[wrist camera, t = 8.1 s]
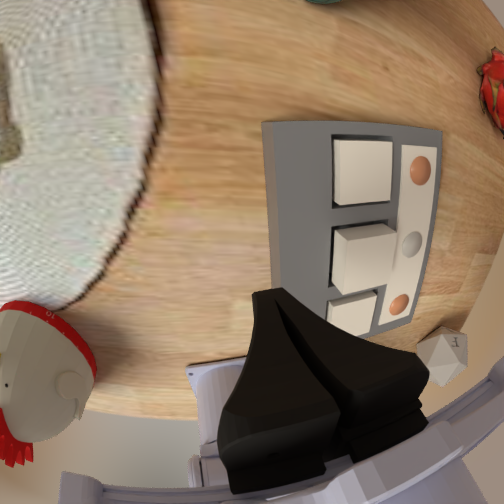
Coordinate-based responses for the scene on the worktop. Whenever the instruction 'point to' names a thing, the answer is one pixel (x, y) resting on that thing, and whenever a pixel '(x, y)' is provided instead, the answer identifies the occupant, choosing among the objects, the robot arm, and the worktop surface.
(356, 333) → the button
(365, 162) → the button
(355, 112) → the worktop surface
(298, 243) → the button board
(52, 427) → the kitchen timer
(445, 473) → the robot arm
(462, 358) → the die
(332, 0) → the beverage bottle
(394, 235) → the middle button
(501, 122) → the dragon fruit
